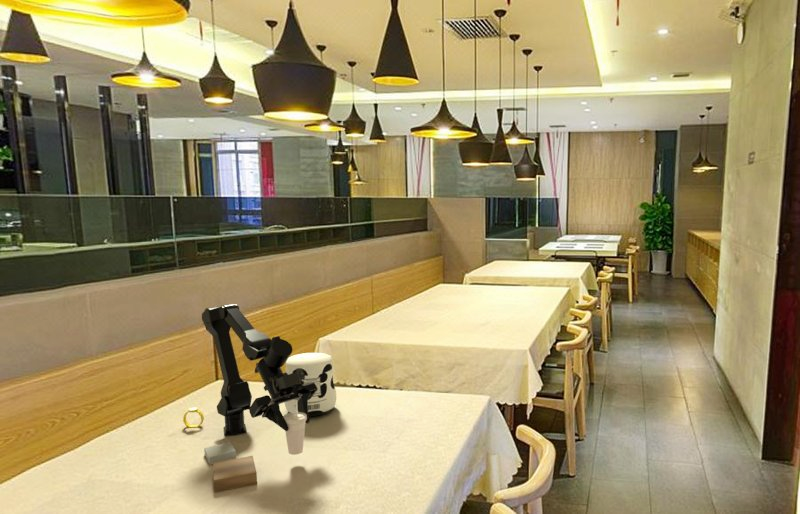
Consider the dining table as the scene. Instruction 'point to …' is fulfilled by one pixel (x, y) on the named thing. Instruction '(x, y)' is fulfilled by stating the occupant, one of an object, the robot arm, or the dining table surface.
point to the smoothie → (295, 430)
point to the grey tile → (220, 452)
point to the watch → (193, 411)
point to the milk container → (314, 381)
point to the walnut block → (234, 473)
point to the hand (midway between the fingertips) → (298, 426)
